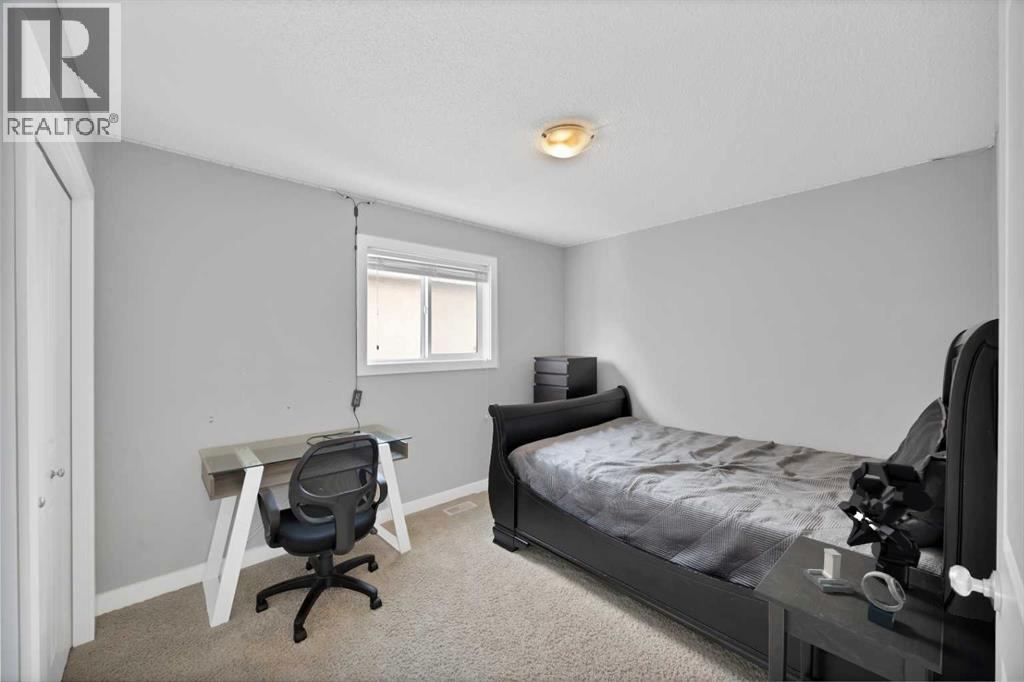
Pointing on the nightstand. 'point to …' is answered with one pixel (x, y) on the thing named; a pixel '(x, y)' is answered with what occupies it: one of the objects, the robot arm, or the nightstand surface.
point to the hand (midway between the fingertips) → (848, 544)
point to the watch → (879, 609)
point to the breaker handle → (832, 564)
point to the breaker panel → (827, 582)
